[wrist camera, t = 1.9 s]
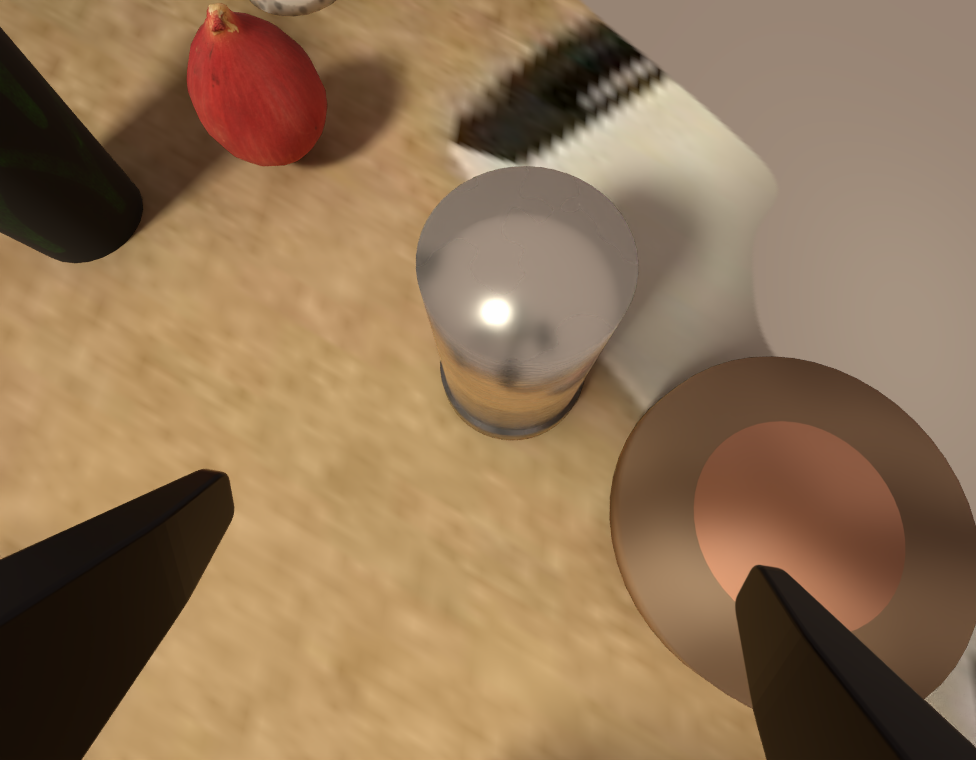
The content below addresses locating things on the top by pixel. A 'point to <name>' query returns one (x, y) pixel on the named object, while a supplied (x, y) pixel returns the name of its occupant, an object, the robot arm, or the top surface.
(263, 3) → the mug
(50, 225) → the cup
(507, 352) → the canister
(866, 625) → the turntable
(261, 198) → the top surface
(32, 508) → the top surface
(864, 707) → the robot arm
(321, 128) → the onion
